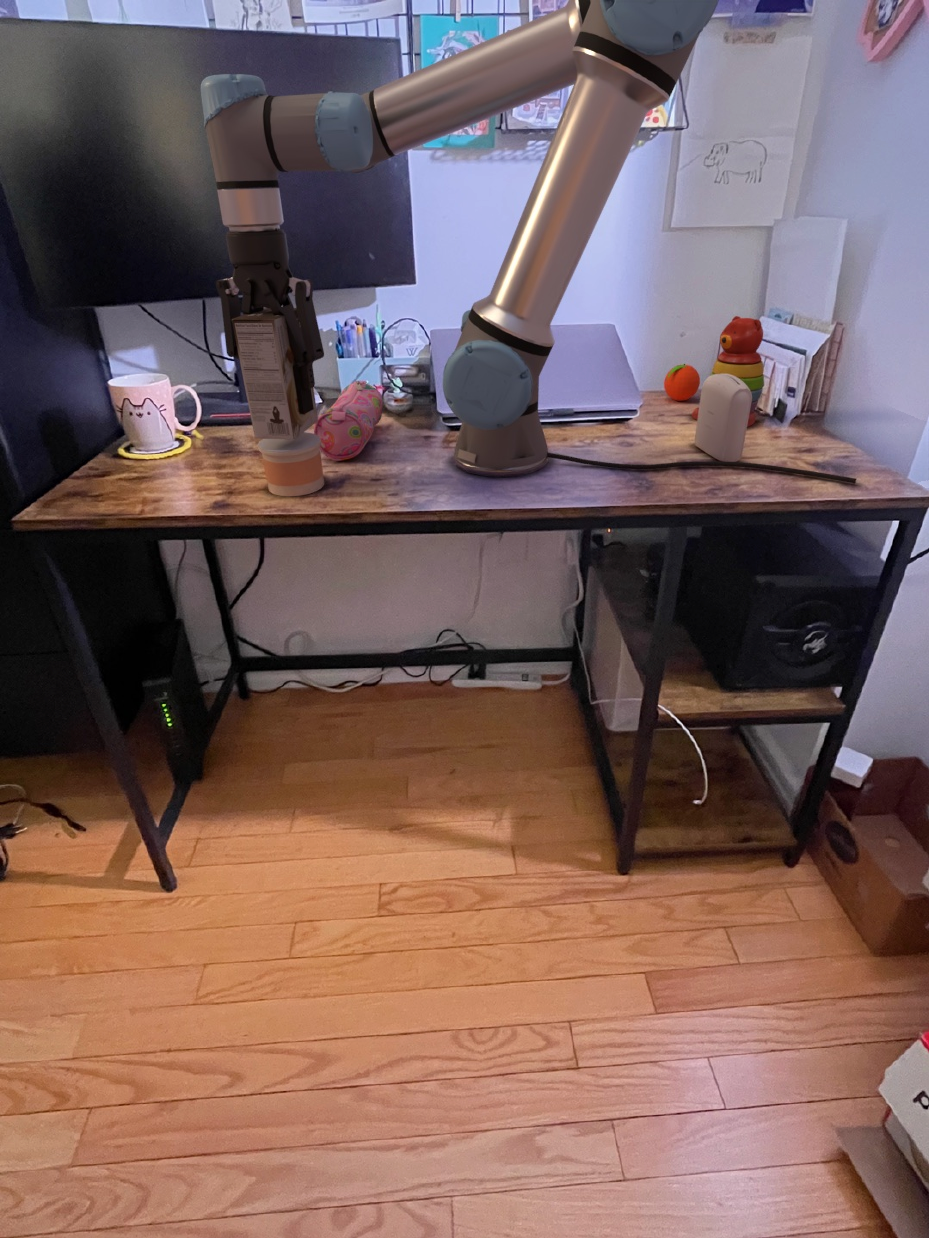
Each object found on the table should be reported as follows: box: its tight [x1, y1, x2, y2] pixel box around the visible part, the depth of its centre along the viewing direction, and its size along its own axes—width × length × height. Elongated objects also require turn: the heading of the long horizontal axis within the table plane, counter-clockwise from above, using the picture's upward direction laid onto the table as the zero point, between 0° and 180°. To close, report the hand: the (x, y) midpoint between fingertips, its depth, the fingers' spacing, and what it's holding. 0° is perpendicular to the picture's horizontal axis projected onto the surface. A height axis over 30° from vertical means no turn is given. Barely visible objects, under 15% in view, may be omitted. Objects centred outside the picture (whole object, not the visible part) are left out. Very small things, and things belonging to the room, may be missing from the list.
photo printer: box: [694, 374, 752, 462], centre depth 112 cm, size 10×4×12 cm, turn 11°
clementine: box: [663, 363, 701, 402], centre depth 141 cm, size 8×7×7 cm
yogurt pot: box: [257, 431, 325, 497], centre depth 106 cm, size 9×9×7 cm
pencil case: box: [313, 380, 384, 461], centre depth 122 cm, size 21×9×9 cm, turn 176°
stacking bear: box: [691, 315, 765, 428], centre depth 125 cm, size 11×10×18 cm
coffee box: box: [232, 307, 319, 440], centre depth 99 cm, size 9×6×16 cm
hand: (283, 409), depth 102 cm, fingers closed on coffee box, 7 cm apart
